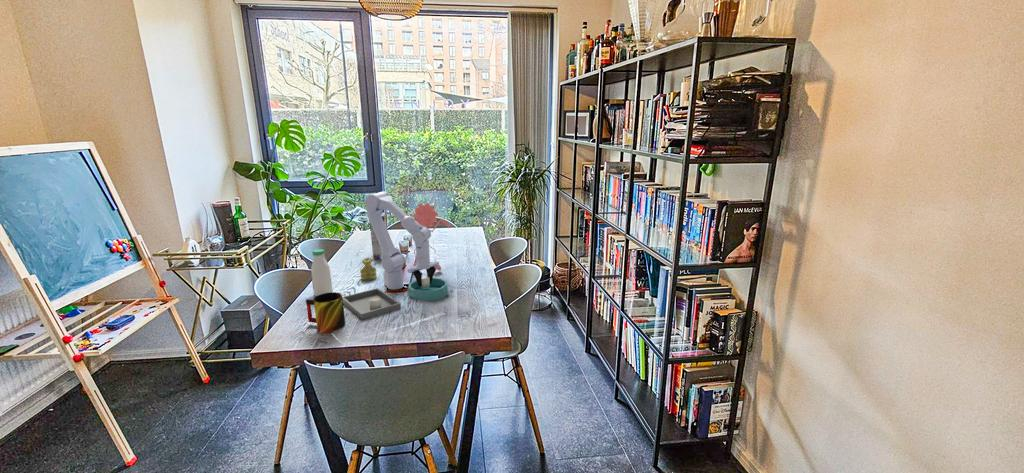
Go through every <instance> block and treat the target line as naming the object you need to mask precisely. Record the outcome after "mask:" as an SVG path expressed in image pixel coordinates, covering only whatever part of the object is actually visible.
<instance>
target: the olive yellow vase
mask: <svg viewBox="0 0 1024 473" xmlns="http://www.w3.org/2000/svg"><path fill="white" fill-rule="evenodd" d="M373 261H374V259H373V258H372V259H371V258H368V257H367V258H366V257H365V258H364V259H363V260H362V261H361V263H362V264H363V265H364V266H363V267H362V268H361V269H360V271H359V273H360V280H362V281H368V282H369V281H373V280H376V278H377V268H376V267H374V266H373V265H371V264H372V263H373Z"/></svg>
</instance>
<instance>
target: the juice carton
mask: <svg viewBox="0 0 1024 473" xmlns="http://www.w3.org/2000/svg"><path fill="white" fill-rule="evenodd" d="M381 216H382V219H383V221H384V224H385V226H386V228H387V229H388V223H387V212H384V211H382V213H381ZM369 227H370V228H369V229H370V238H371V247H372V248H371V250H372V260H381V255H382V252H383V251H382V249H381V247H380V244H379V242H378V240H377V237H376V235H375V233H374V230H373V228H372V226H371V223H370V222H369Z"/></svg>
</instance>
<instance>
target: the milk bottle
mask: <svg viewBox="0 0 1024 473" xmlns="http://www.w3.org/2000/svg"><path fill="white" fill-rule="evenodd" d="M312 257H313V261H312V263H311V267H310V273H311V274H310V275H311V282H312V283H311V284H312V290H313V294H314V297H316V296H318V295H321V294H324V293H331V292H333V290H334V289H333V283H332V274H331V269H330V268H331V267H330V265H329V262H328V261H327V259H326V257H325V250H324V249H322V248H321V249H314V250H312Z"/></svg>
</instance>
